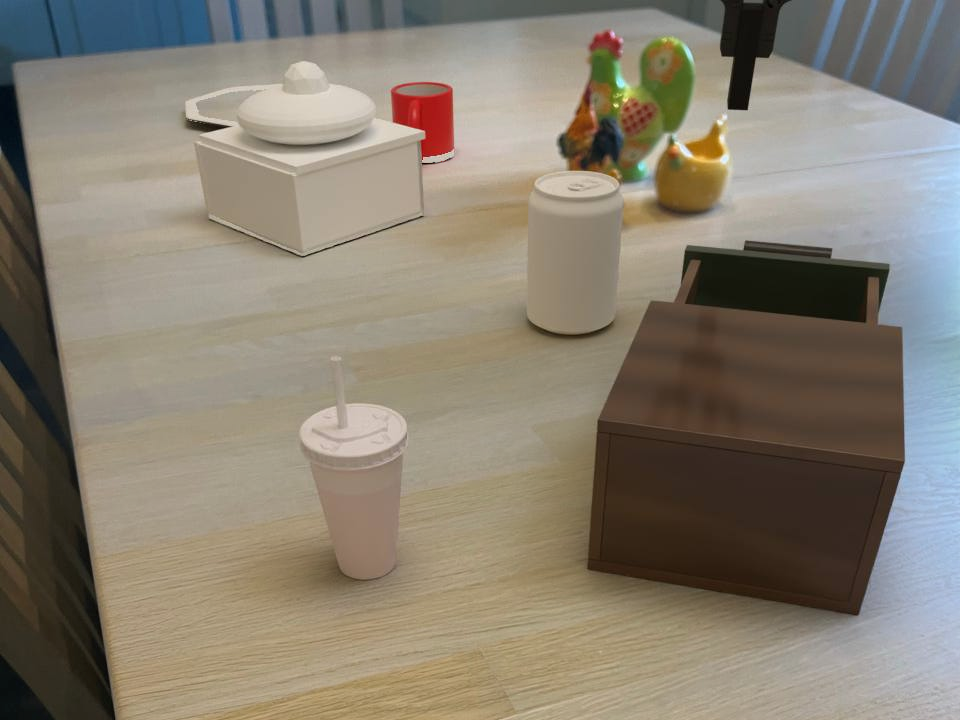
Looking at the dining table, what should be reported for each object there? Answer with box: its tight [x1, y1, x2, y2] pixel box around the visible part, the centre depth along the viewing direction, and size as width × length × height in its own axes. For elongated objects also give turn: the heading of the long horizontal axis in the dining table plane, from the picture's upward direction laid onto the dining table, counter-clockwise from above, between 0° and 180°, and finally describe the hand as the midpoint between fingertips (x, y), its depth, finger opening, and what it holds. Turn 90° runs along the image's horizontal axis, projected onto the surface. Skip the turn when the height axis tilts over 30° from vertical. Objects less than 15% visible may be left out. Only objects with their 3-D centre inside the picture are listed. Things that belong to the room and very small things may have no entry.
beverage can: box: [526, 170, 625, 336], centre depth 89 cm, size 8×8×12 cm
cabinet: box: [586, 300, 906, 616], centre depth 65 cm, size 18×17×11 cm
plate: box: [184, 83, 283, 129], centre depth 150 cm, size 24×24×2 cm
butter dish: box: [193, 60, 425, 253], centre depth 110 cm, size 18×18×16 cm
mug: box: [390, 81, 455, 160], centre depth 129 cm, size 8×12×8 cm, turn 176°
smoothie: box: [298, 355, 410, 581], centre depth 61 cm, size 6×6×14 cm
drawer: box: [673, 239, 891, 324], centre depth 78 cm, size 22×15×9 cm
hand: (737, 105), depth 77 cm, fingers closed
